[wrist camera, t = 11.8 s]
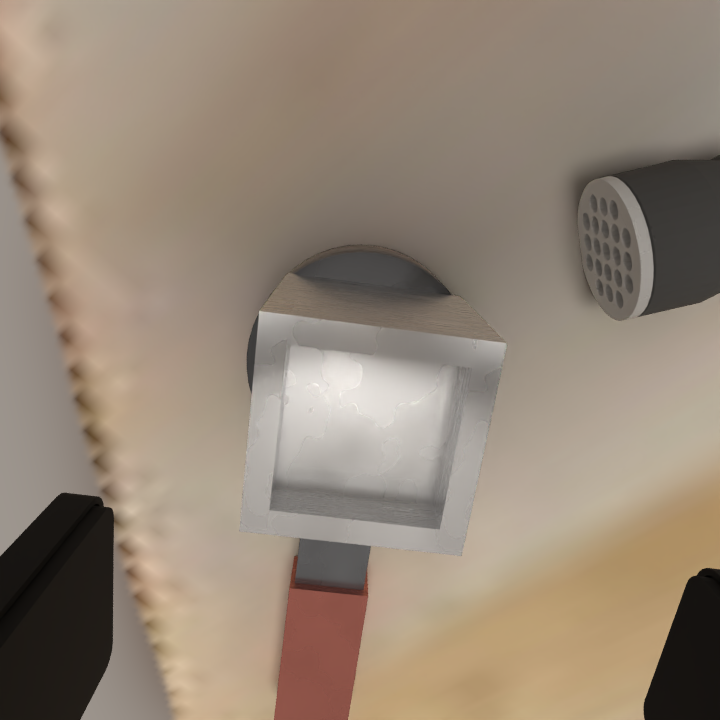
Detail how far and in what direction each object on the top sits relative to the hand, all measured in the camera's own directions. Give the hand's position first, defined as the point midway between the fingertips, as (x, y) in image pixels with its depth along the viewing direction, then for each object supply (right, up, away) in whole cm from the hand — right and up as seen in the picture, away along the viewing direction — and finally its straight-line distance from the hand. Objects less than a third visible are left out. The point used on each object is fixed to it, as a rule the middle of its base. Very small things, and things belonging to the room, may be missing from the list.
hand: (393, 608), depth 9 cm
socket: (0, +4, +14) cm, 14 cm away
